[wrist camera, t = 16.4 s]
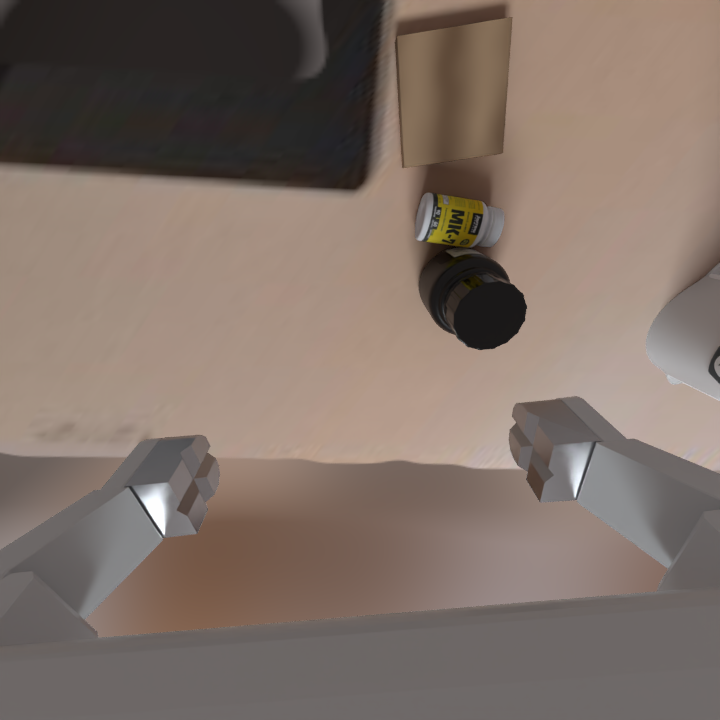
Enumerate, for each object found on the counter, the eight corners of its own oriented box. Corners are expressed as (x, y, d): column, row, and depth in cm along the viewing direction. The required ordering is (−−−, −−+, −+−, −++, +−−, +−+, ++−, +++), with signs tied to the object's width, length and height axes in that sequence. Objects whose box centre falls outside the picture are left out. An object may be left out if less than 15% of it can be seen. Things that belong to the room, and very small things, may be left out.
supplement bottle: (429, 202, 31) (512, 214, 32) (423, 185, 34) (498, 196, 35) (416, 248, 34) (491, 258, 35) (412, 229, 38) (480, 238, 38)
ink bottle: (504, 284, 41) (558, 319, 30) (449, 330, 43) (480, 377, 33) (458, 226, 37) (500, 243, 27) (401, 281, 40) (419, 315, 30)
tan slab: (502, 26, 30) (512, 17, 28) (494, 154, 34) (502, 153, 33) (394, 44, 30) (397, 36, 28) (401, 168, 35) (404, 167, 33)
